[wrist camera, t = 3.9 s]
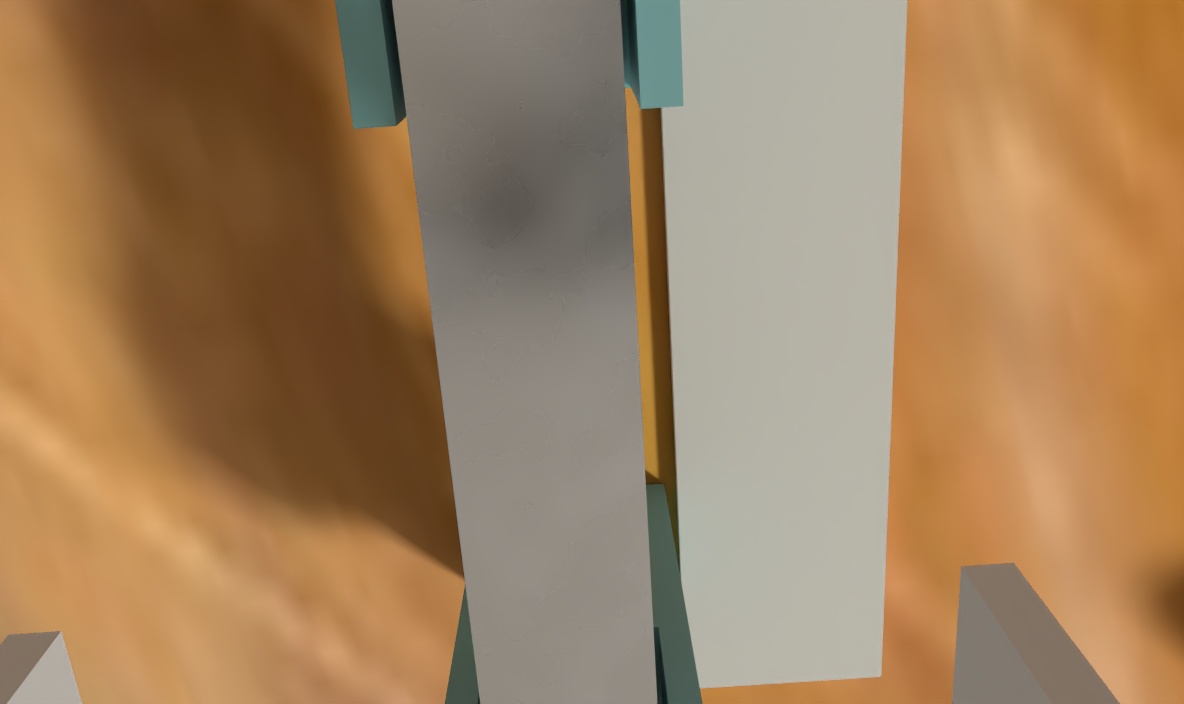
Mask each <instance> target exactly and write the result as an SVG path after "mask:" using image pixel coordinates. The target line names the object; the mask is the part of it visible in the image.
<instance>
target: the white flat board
mask: <svg viewBox="0 0 1184 704" xmlns="http://www.w3.org/2000/svg"><path fill="white" fill-rule="evenodd" d="M680 16H681V45H682V75H683V104H684V106H678V107H663V108H660V111H661V135H662V159H663V183H664V207H665V231H666V255H667V279H668V303H669V327H670V351H671V375H672V399H673V423H674V447H675V471H676V496H677V520H678V544H679V568H680V578H681V584H682V589H683V595H684V601H685V607H686V612H687V618H688V624H689V630H690V635H691V641H692V647H693V653H694V658H695V664H696V670H697V675H698V681H699V687H700V688H715V687H730V686H746V685H761V684H776V683H792V682H807V681H823V680H838V679H853V678H869V677H881V669H882V643H883V617H884V591H885V566H886V540H887V514H888V488H889V462H890V436H891V410H892V384H893V358H894V332H895V306H896V280H897V254H898V228H899V202H900V176H901V150H902V124H903V99H904V73H905V47H906V21H907V0H680Z"/></svg>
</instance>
